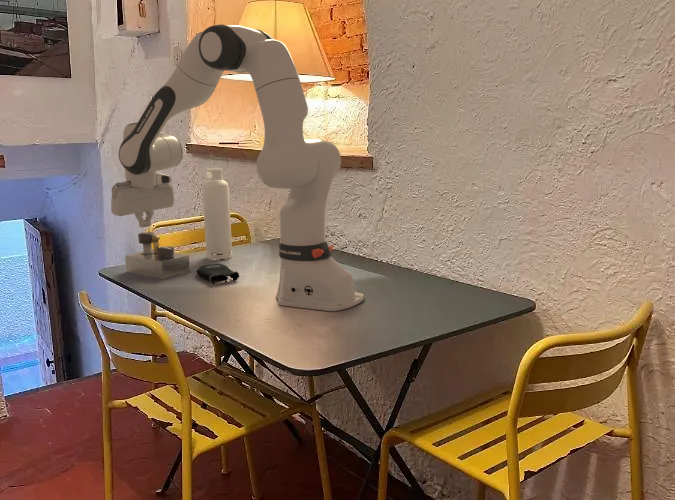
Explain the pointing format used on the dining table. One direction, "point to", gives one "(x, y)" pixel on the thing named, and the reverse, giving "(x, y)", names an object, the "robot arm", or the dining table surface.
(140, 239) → the knob far
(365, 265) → the dining table surface
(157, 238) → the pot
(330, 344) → the dining table surface
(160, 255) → the knob near
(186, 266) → the mount
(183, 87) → the robot arm
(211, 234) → the bottle
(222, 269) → the black pouch
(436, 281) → the dining table surface
